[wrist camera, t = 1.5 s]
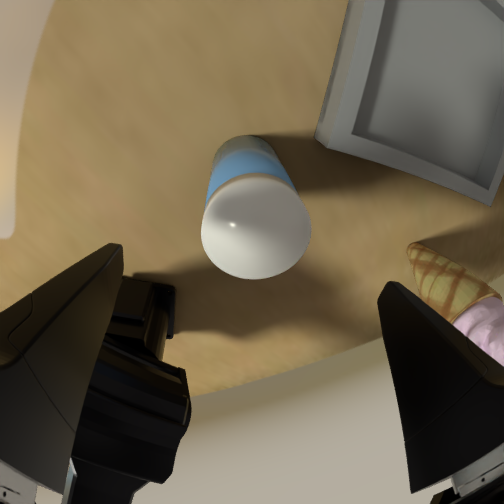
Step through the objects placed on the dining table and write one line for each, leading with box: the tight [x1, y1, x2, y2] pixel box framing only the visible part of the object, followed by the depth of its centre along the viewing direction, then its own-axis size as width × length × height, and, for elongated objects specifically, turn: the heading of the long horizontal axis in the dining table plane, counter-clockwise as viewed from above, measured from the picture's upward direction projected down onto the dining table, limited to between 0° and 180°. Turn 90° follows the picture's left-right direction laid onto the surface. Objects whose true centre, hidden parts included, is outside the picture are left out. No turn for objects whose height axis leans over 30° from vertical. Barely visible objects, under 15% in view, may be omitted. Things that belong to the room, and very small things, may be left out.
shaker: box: [201, 135, 311, 279], centre depth 16 cm, size 4×4×9 cm
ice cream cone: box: [407, 242, 504, 366], centre depth 18 cm, size 7×6×15 cm
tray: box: [314, 0, 504, 207], centre depth 14 cm, size 18×16×3 cm
